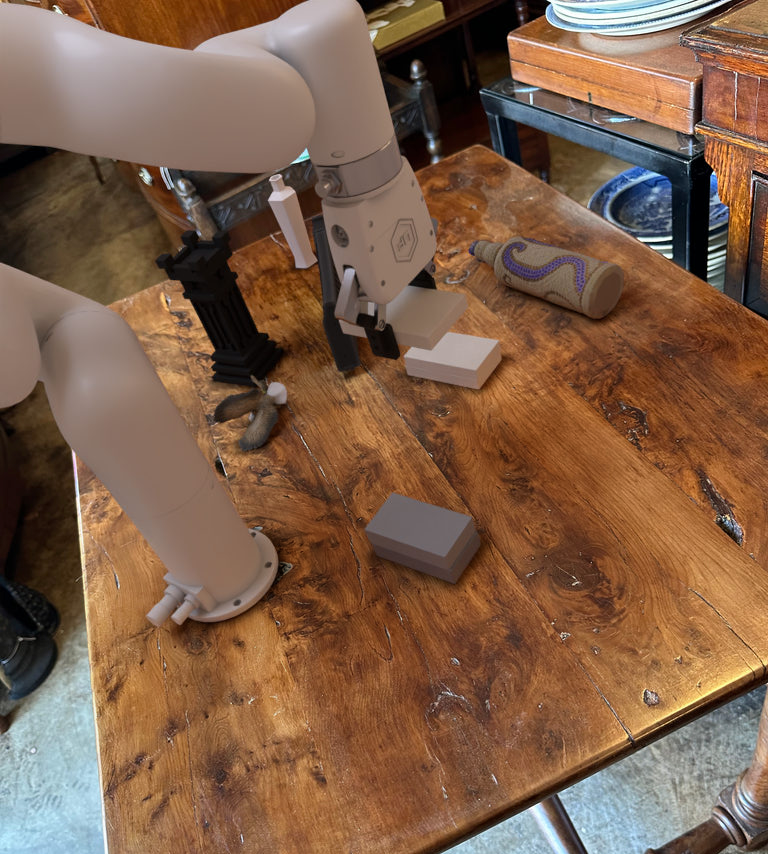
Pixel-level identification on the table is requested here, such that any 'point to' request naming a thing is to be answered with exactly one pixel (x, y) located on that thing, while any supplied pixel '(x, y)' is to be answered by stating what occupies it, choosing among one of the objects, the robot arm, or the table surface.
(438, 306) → the white book
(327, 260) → the magazine
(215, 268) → the chess piece
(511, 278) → the decorative bottle
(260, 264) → the table surface
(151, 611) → the robot arm
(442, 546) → the grey stack
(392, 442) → the table surface
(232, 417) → the eagle figurine
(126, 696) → the table surface
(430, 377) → the white stack
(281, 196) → the perfume bottle
